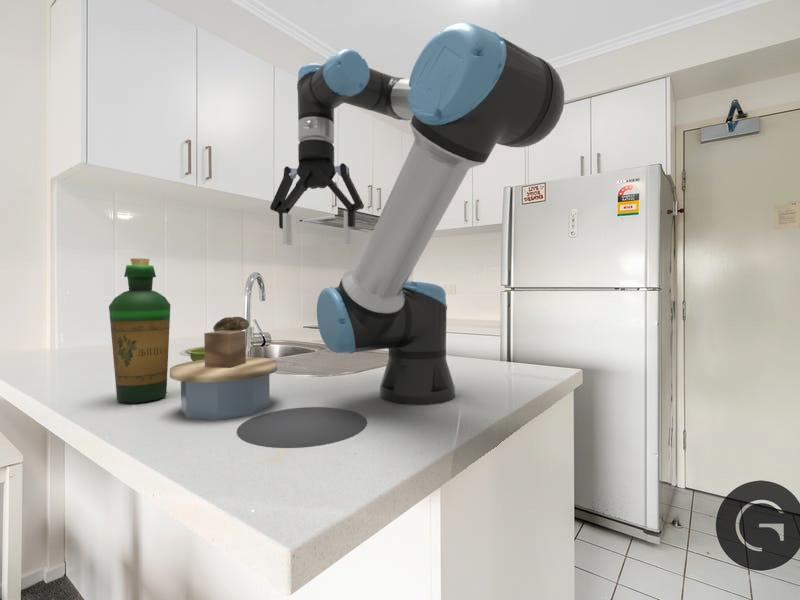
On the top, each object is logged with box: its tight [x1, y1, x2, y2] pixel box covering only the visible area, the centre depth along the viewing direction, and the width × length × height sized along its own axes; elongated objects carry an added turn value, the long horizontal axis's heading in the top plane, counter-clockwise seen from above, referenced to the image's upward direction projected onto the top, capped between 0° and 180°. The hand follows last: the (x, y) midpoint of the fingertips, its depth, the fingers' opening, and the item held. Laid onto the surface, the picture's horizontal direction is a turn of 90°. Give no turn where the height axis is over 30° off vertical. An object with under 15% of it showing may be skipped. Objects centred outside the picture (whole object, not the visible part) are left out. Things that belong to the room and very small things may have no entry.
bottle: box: [108, 258, 171, 405], centre depth 86 cm, size 11×11×28 cm
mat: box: [236, 406, 368, 449], centre depth 68 cm, size 20×20×1 cm
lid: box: [169, 330, 278, 382], centre depth 78 cm, size 18×18×7 cm
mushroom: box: [212, 316, 250, 332], centre depth 110 cm, size 9×9×15 cm
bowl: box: [180, 374, 271, 421], centre depth 78 cm, size 14×14×7 cm
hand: (317, 243), depth 92 cm, fingers open, 13 cm apart
